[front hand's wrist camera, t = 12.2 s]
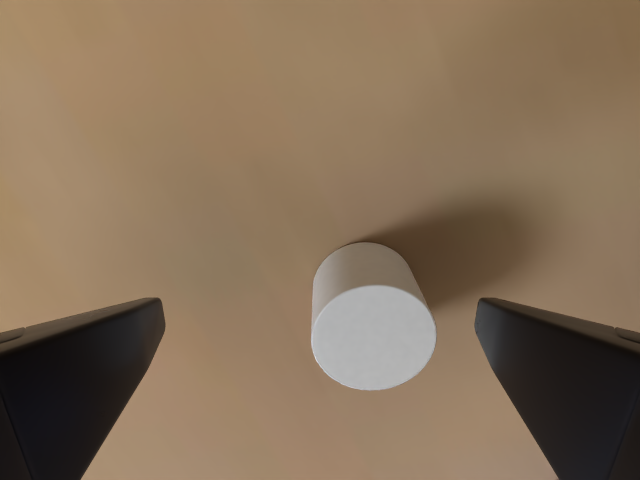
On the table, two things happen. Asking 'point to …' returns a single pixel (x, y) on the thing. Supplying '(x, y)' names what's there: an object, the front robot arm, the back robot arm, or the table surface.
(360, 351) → the canister
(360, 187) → the table surface
